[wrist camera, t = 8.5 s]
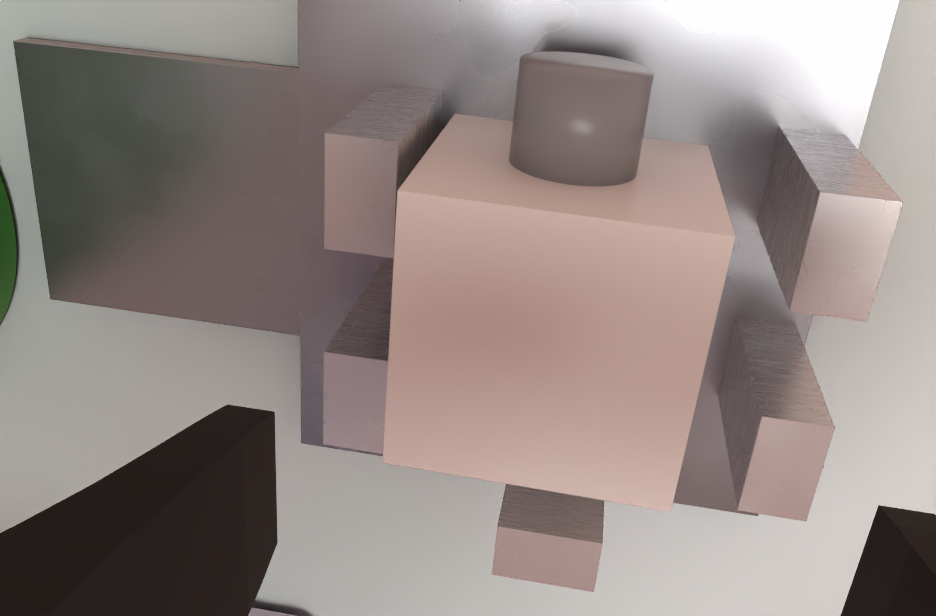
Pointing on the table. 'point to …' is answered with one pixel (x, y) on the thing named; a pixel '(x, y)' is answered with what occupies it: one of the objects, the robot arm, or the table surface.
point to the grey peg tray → (401, 148)
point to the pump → (556, 290)
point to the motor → (6, 252)
